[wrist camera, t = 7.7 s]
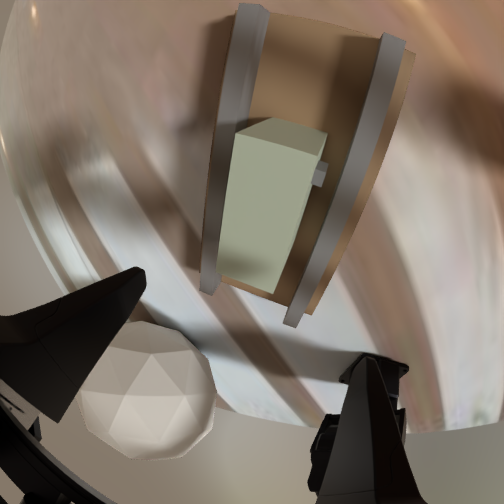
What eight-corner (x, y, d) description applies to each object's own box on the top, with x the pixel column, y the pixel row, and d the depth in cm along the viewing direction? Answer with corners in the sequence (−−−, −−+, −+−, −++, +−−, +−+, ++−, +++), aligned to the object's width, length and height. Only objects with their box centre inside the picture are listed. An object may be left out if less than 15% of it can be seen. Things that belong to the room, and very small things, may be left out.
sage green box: (302, 241, 20) (282, 297, 15) (250, 222, 20) (215, 272, 16) (336, 136, 15) (330, 160, 10) (272, 117, 15) (235, 133, 11)
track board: (313, 307, 24) (307, 332, 22) (204, 266, 26) (189, 286, 24) (412, 55, 11) (424, 49, 8) (241, 13, 12) (221, 2, 10)
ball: (226, 327, 42) (239, 447, 33) (121, 335, 44) (128, 440, 35) (183, 291, 25) (203, 493, 16) (46, 306, 27) (53, 457, 18)
